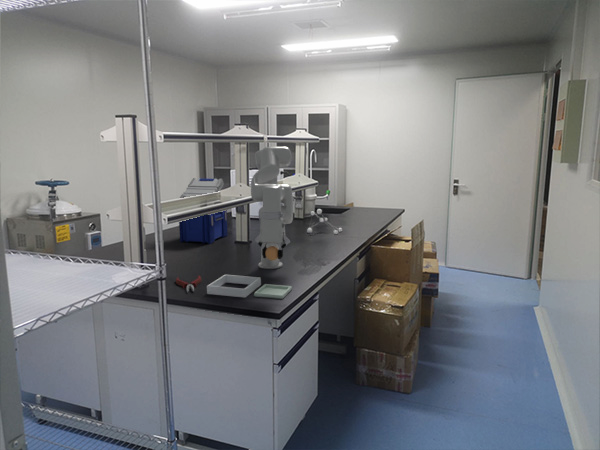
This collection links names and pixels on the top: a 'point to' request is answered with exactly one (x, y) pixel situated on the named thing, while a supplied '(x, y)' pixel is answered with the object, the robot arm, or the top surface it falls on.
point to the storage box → (206, 225)
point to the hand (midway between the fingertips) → (272, 257)
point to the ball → (272, 253)
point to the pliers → (187, 285)
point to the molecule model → (322, 221)
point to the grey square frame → (236, 292)
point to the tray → (273, 291)
